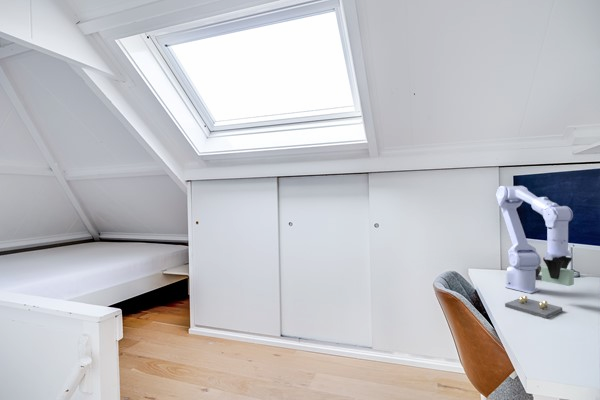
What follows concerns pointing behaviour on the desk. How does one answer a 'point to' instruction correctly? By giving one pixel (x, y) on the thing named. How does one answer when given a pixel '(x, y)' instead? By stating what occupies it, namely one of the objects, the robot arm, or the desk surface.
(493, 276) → the desk surface
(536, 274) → the end cap
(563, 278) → the board block
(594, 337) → the desk surface
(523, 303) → the plate
